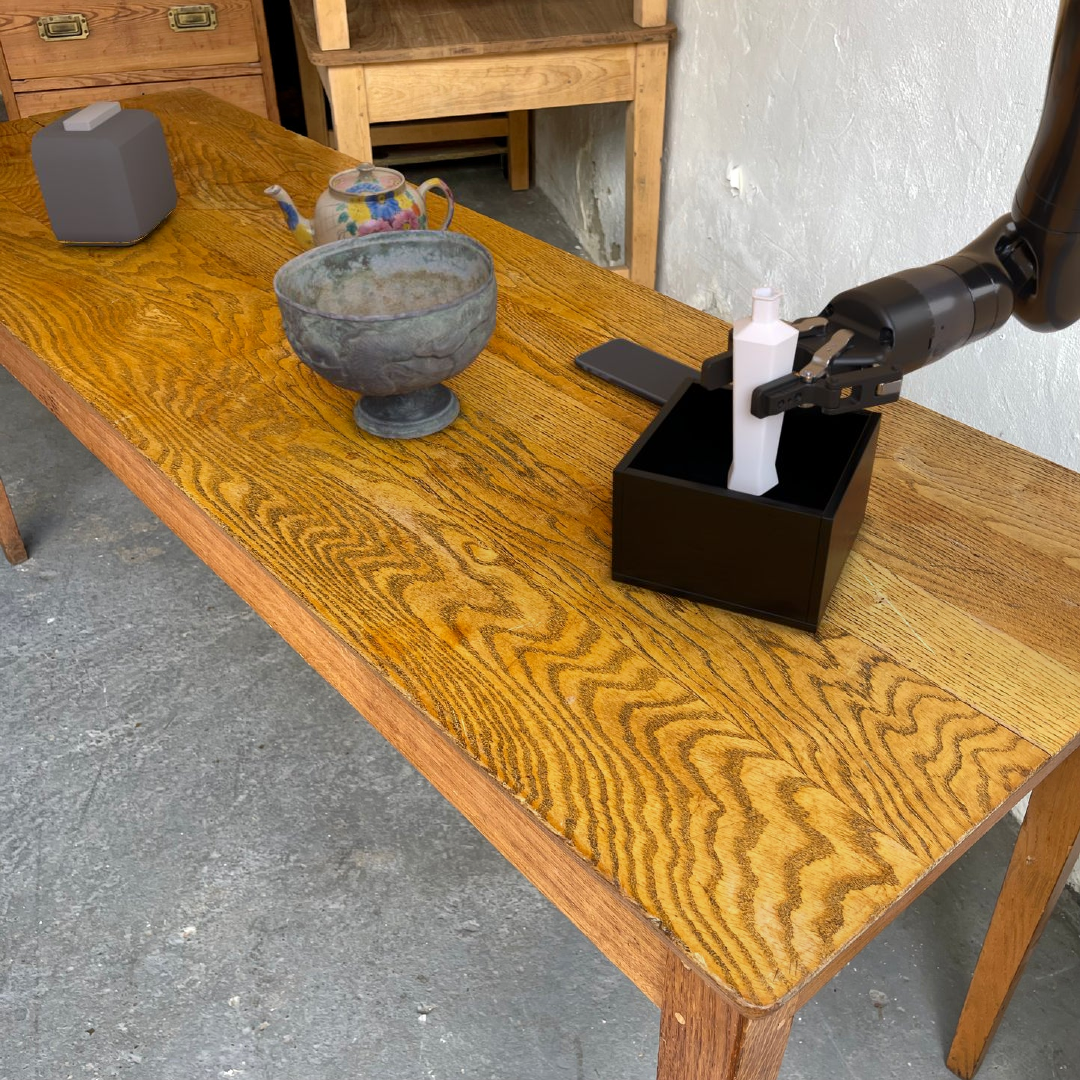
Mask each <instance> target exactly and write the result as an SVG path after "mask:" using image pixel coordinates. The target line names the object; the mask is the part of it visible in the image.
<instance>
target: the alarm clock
mask: <svg viewBox="0 0 1080 1080" xmlns="http://www.w3.org/2000/svg"><path fill="white" fill-rule="evenodd" d="M30 153H31V161H32V165H33V168H34V171H35V175H36V177H37V181H38V185H39V188H40V192H41V195H42V198H43V202H44V206H45V209H46V212H47V216H48V220H49V222H50V226H51V230H52V232H53V234H54V236H55V239H56V241H57V242H58V241H65V242H66V241H71V242H72V241H74V242H114V243H60V244H61V245H62V246H63V247H64V246H67V247H68V246H72V247H73V246H74V247H75V246H76V247H82V246H84V247H128V246H132V245H133V246H134V245H136V244H140V243H141V242H142V241H143V240H144V239H145V238H147V237H148V236H149V235H150V234H151V233H152V232H153V231H154V230H155V229H156V228H157V227H158V226H159V225H161V224H162V223H163V222H164V221H165V220H166V219H168V217H170V215H171V214H172V212H174V211H175V209H176V208H177V204H178V191H177V186H176V181H175V177H174V172H173V168H172V164H171V159H170V154H169V149H168V145H167V141H166V135H165V131H164V127H163V126H162V123H161V121H160V119H159V117H157V116H156V115H155V114H154V113H152V112H151V111H150V110H147V109H142V108H121V103H120V102H119V101H95V102H92V103H91V104H89V105H88V106H86V107H84V108H74V109H72V110H70V111H69V112H67V113H66V114H64V115H62V116H60V117H59V118H57V119H55V120H54V121H52V122H51V123H49V124H48V125H45V126H44V127H42V128H41V129H39V130H37V131H36V132H35V133H34V135H33V137H32V138H31V145H30ZM171 211H172V212H171ZM170 212H171V213H170ZM169 213H170V214H169ZM168 214H169V215H168ZM167 215H168V216H167ZM166 216H167V217H166ZM165 217H166V218H165ZM159 222H160V223H159ZM158 223H159V224H158ZM157 224H158V225H157ZM156 225H157V226H156ZM155 226H156V227H155ZM154 227H155V228H154ZM153 228H154V229H153ZM146 234H147V235H146ZM145 235H146V236H145ZM144 236H145V237H144ZM142 237H144V238H142ZM140 238H142V239H140ZM138 239H140V240H138ZM134 240H138V241H135V242H131V241H134ZM115 242H119V243H115ZM122 242H130V243H122Z"/></svg>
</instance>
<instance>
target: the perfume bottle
mask: <svg viewBox="0 0 1080 1080" xmlns="http://www.w3.org/2000/svg"><path fill="white" fill-rule="evenodd" d="M783 295H784V292H783V291H782V290H780V289H778V288H776V287H774V286H770V285H767V286H759V287H758V286H757V287H753V288H751V291H750V296H751V298H752V304H751V315H749V316H745V317H743V318H739V319H736V320H734V321H733V327H734V330H733V382H732V385H733V461H732V463H731V466H730V469H729V472H728V486H727V487H728V489H731V490H735V491H740V492H744V493H748V494H753V495H757V496H759V495H762V494H763V493H765V492H766V491H768V490H769V489H771V488H772V487H774V486H775V485H777V484H778V478H777V473H776V468H775V460H776V455H777V449H778V444H779V438H780V433H781V427H782V422H783V416H784V412H782V413H780V414H777V415H773V416H768V417H765V418H763V419H758V418H757V417H755V416H753V415H751V413H750V409H751V397H752V392H753V390H754V389H755V388H756V387H757V386H760V385H762V384H765V383H768V382H770V381H773V380H775V379H778V378H780V377H783V376H785V375H788V374H790V373H792V367H793V362H794V356H795V351H796V345H797V340H798V334H799V331H798V330H797V329H795V328H793V327H792V326H790V325H788V324H786V323H785V322H783V321H781V320H780V319H781V318H780V308H781V298H782V296H783Z"/></svg>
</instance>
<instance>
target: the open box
mask: <svg viewBox="0 0 1080 1080" xmlns="http://www.w3.org/2000/svg"><path fill="white" fill-rule="evenodd" d="M821 408H822V406H818V405H813V406H812V407H810V408H802V407H799V406H797V407H794V408H792V409H789V410H786V411H785V412H784V416H783V422H782V427H781V433H780V438H779V444H778V449H777V455H776V460H775V468H776V473H777V478H778V484H777V485H775V486H774V487H772V488H771V489H769V490H768V491H766V492H765V493H763V494H762V495H759V496H757V495H753V494H748V493H744V492H740V491H735V490H731V489H728V487H727V486H728V472H729V469H730V466H731V463H732V461H733V384H731V383H730V384H727V385H725V386H722V387H720V388H717V389H714V390H712V391H709V390H707V389H705V388H703V387H702V386H701V379H698V378H692V377H686V378H685V379H684V381H683V382H682V383H681V385H680V386H679V387H678V388H677V390H676V391H675V392H674V393H673V395H672V396H671V397H670V398H669V400H668V401H667V402H666V404H665V405H664V406H661V409H659V411H658V412H657V413H656V415H655V416H654V417H653V419H652V420H651V421H650V422H649V424H648V425H647V426H646V427H645V429H644V430H643V431H642V432H641V434H639V437H637V439H636V440H635V441H634V443H633V444H632V445H631V446H630V448H629V449H628V450H627V451H626V452H625V454H624V455H623V457H621V459H620V460H619V462H618V463H617V464H616V466H615V467H613V469H612V489H611V490H612V499H611V501H612V503H611V569H610V571H611V581H614V582H618V583H621V584H626V585H628V586H632V587H637V588H641V589H644V590H648V591H651V592H655V593H658V594H663V595H667V596H671V597H675V598H678V599H682V600H686V601H690V602H693V603H696V604H701V605H705V606H709V607H712V608H716V609H720V610H724V611H726V612H727V611H728V612H731V613H735V614H739V615H743V616H746V617H749V618H754V619H758V620H762V621H765V622H769V623H773V624H776V625H781V626H784V627H788V628H792V629H796V630H799V631H803V632H807V633H811V634H815V635H816V634H817V632H818V630H819V627H820V625H821V622H822V620H823V617H824V615H825V613H826V610H827V608H828V606H829V604H830V601H831V599H832V596H833V594H834V592H835V590H836V587H837V584H838V582H839V580H840V578H841V575H842V572H843V570H844V568H845V565H846V563H847V561H848V559H849V556H850V555H851V552H852V549H853V547H854V544H855V542H856V539H857V537H858V535H859V532H860V530H861V528H862V526H863V523H864V520H865V517H866V512H867V511H866V510H867V504H868V499H869V494H870V489H871V483H872V476H873V470H874V466H875V465H874V464H875V459H876V453H877V446H878V442H879V435H880V432H881V431H880V430H881V423H882V418H883V412H879V411H874V410H870V409H860V410H855V411H851V412H846V413H841V414H837V415H826V414H824V413H822V411H821Z"/></svg>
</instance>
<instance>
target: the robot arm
mask: <svg viewBox="0 0 1080 1080" xmlns="http://www.w3.org/2000/svg"><path fill="white" fill-rule="evenodd" d="M1047 69H1048V70H1047V77H1046V82H1045V83H1046V84H1045V90H1044V98H1043V103H1042V108H1041V113H1040V117H1039V121H1038V125H1037V130H1036V132H1035V136H1034V139H1033V142H1032V145H1031V146H1030V150H1029V153H1028V155H1027V157H1026V160H1025V163H1024V166H1023V169H1022V172H1021V175H1020V177H1019V180H1018V182H1017V185H1016V188H1015V191H1014V193H1013V197H1012V201H1011V207H1010V211H1009V212H1006V213H1004V214H1002V215H1000V216H999V217H998V218H996V219H995V220H993V221H992V222H991V223H990V224H989V225H988V226H986V228H985V229H984V230H983V231H982V232H981V233H979V235H978V236H976V237H975V238H974V239H973V240H972V241H971V242H969V243H968V244H966V246H964V247H962V248H961V249H960V250H959V251H957V252H956V253H954V254H952V255H949V256H948V257H944V258H942V259H939V260H936V261H933V262H931V263H928V264H926V265H922V266H917V267H911V268H905V269H903V270H899V271H897V272H894V273H891V274H888V275H885V276H883V277H880V278H877V279H874V280H871V281H869V282H868V281H867V282H866V283H863V284H861V285H858V286H854V287H851V288H849V289H847V290H844V291H842V292H839V293H838V294H836V295H835V296H833V297H832V299H831V300H830V301H829V302H828V303H827V304H826V305H825V306H824V308H823V309H822V310H821V312H819V313H818V314H817V315H814V316H806V317H805V316H804V317H798V318H795V320H794V321H790V320H784V319H782V318H779V319H780V320H781V321H783V322H785V323H786V324H788V325H790V326H792V327H793V328H795V329H797V330H798V331H799V334H798V340H797V345H796V351H795V356H794V362H793V367H792V373H790V374H788V375H785V376H783V377H780V378H778V379H775V380H773V381H770V382H768V383H765V384H762V385H760V386H757V387H756V388H755V389H754V390H753V392H752V397H751V409H750V413H751V415H753V416H755V417H757V418H758V419H763V418H765V417H768V416H773V415H777V414H780V413H782V412H785V411H786V410H789V409H792V408H794V407H797V406H799V407H802V408H810V407H812V406H813V405H818V406H822V408H821V411H822V413H824V414H826V415H837V414H841V413H846V412H851V411H855V410H860V409H864V410H866V409H869V408H874V407H879V406H883V405H888V404H892V403H897V402H898V401H899V400H900V396H901V391H902V385H903V380H904V376H907V375H909V374H910V373H911V374H912V373H913V372H916V371H917V370H920V369H922V368H924V367H927V366H930V365H932V364H934V363H936V362H938V361H940V360H942V359H943V358H945V357H947V356H948V355H949V354H951V353H953V352H954V351H957V350H959V349H961V348H964V347H966V346H968V345H971V344H974V343H976V342H978V341H980V340H982V339H985V338H988V337H990V336H992V335H993V334H995V333H997V332H998V331H999V330H1000V329H1002V328H1003V327H1004V326H1005V324H1007V322H1008V321H1009V320H1010V318H1011V316H1012V317H1013V318H1014V319H1015V320H1016V321H1017V322H1018V323H1019V324H1021V325H1022V326H1023V327H1024V328H1026V329H1028V330H1030V331H1032V332H1035V333H1038V334H1039V333H1040V334H1051V333H1056V332H1059V331H1063V330H1065V329H1067V328H1070V327H1071V326H1072V325H1074V324H1076V322H1078V321H1079V320H1080V0H1059V2H1058V9H1057V13H1056V20H1055V25H1054V32H1053V38H1052V44H1051V50H1050V57H1049V64H1048V68H1047ZM733 330H734V326H733V327H731V328H730V329H729V330H728V333H727V334H728V336H727V350H726V351H723V352H721V353H717V354H715V355H713V356H709V357H706V358H705V359H704V360H703V361H702V363H701V367H700V371H701V386H702V387H703V388H705V389H707V390H709V391H712V390H714V389H717V388H720V387H722V386H725V385H727V384H730V385H731V384H733ZM797 374H799V375H797ZM848 388H851V391H850V394H849V395H847V396H845V397H842V391H843V389H848Z"/></svg>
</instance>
